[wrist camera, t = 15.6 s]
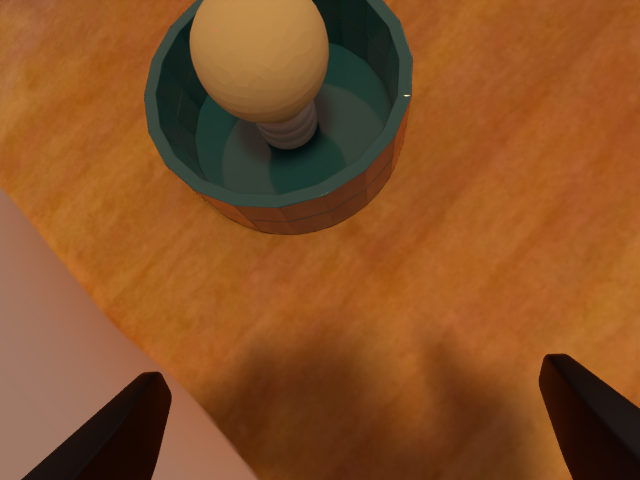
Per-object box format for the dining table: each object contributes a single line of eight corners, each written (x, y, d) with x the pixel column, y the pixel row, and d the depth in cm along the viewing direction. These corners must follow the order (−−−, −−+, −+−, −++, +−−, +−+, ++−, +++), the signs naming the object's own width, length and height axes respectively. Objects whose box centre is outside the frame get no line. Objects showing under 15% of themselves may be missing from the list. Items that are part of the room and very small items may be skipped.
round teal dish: (302, 281, 23) (281, 266, 18) (149, 148, 27) (94, 103, 21) (450, 109, 25) (471, 48, 19) (285, 4, 28) (266, -72, 23)
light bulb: (358, 108, 25) (350, -34, 15) (305, 190, 24) (261, 94, 14) (277, 69, 26) (222, -84, 17) (224, 145, 25) (134, 31, 16)
